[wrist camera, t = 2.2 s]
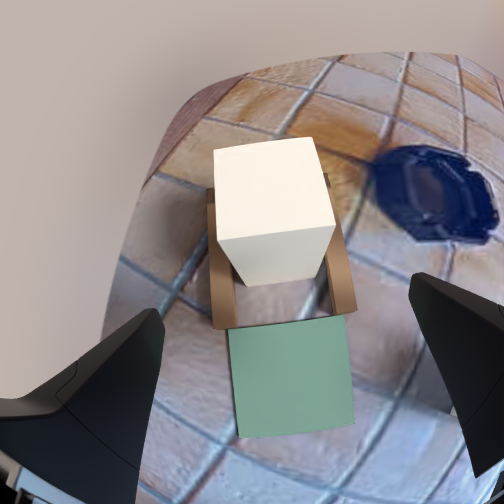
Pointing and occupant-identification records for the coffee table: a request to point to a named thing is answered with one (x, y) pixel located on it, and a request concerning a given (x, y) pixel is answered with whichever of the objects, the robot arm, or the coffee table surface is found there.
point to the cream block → (272, 210)
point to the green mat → (291, 377)
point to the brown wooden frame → (224, 278)
